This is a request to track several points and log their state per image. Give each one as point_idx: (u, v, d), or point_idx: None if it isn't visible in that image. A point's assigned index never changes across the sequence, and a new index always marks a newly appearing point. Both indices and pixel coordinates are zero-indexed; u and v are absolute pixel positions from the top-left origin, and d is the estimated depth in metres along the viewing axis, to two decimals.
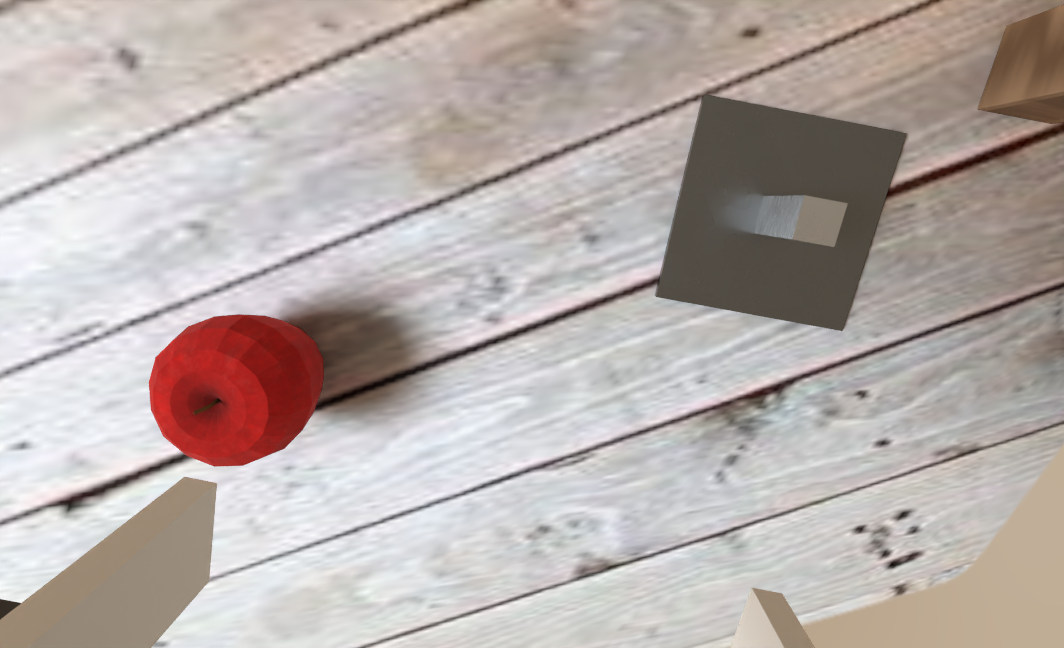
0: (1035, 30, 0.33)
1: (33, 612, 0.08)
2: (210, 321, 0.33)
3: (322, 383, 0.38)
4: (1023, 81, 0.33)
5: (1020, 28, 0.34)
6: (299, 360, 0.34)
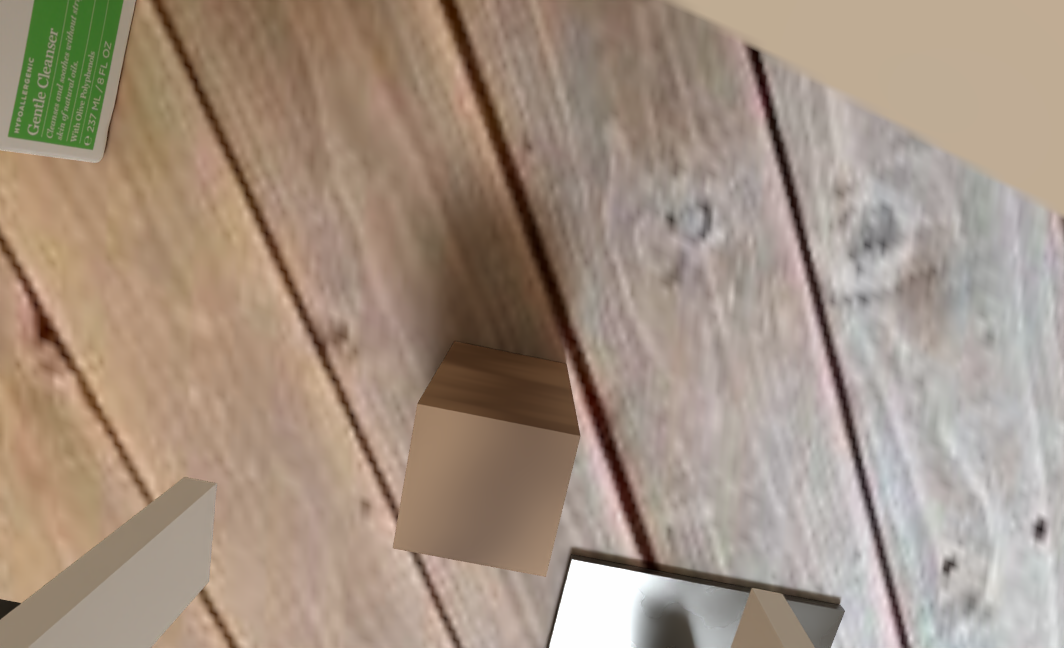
0: None
1: (33, 612, 0.08)
2: None
3: None
4: None
5: None
6: None
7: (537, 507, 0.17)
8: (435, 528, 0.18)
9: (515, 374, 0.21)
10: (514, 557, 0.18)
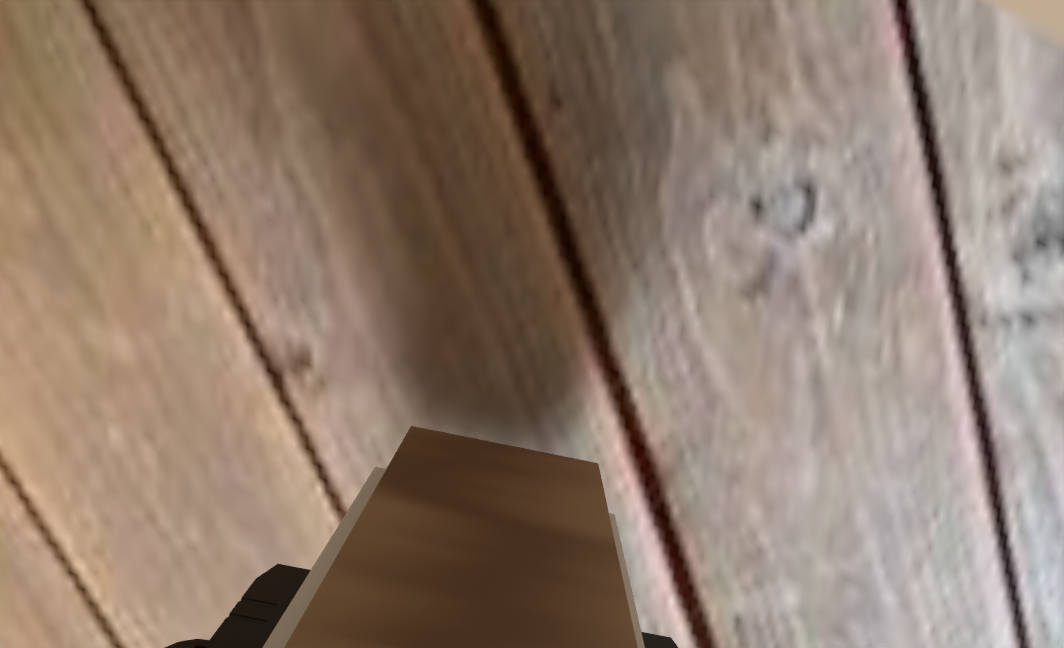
0: None
1: (326, 571, 0.10)
2: None
3: None
4: None
5: None
6: None
7: None
8: None
9: (511, 509, 0.12)
10: None
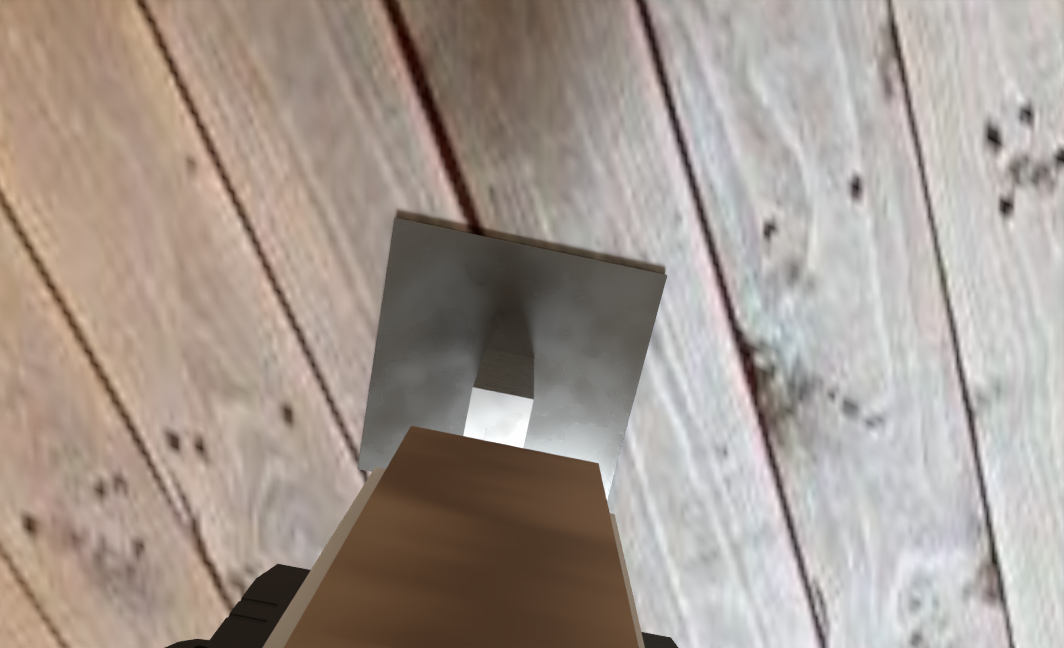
0: None
1: (326, 571, 0.10)
2: None
3: None
4: None
5: None
6: None
7: None
8: None
9: (511, 509, 0.12)
10: None
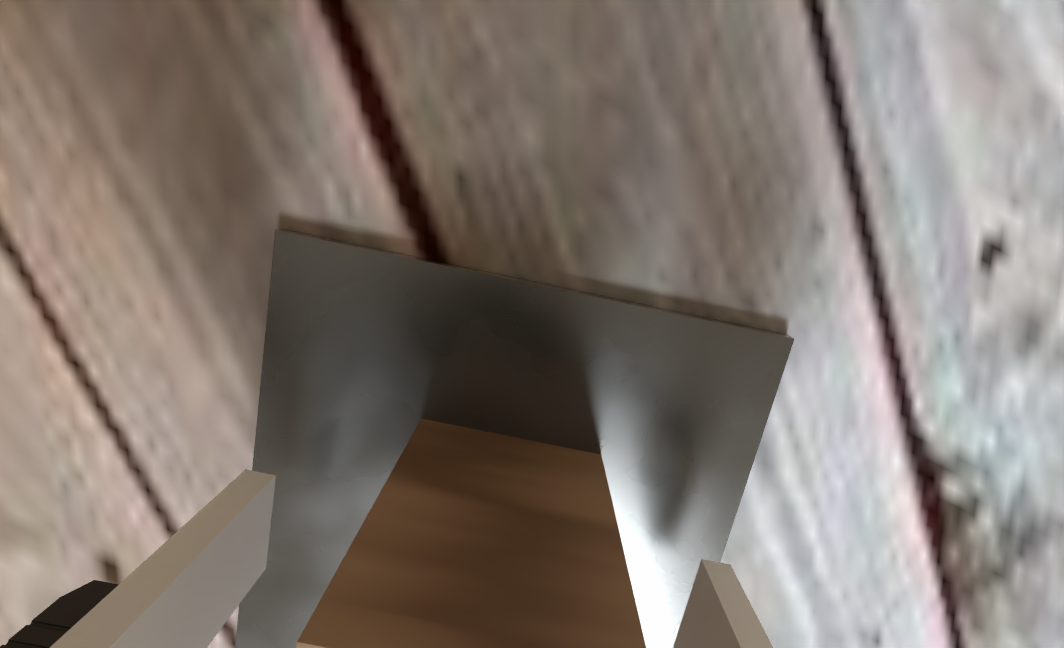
0: None
1: (133, 590, 0.09)
2: None
3: None
4: None
5: None
6: None
7: None
8: None
9: (518, 496, 0.12)
10: None
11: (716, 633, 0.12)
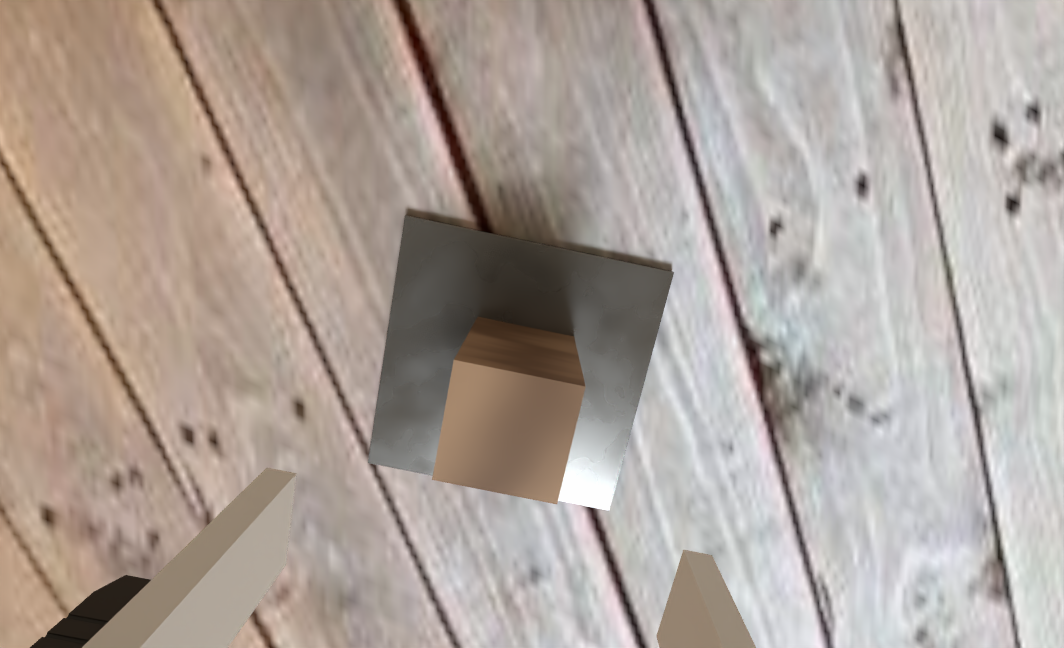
0: None
1: (167, 584, 0.09)
2: None
3: None
4: None
5: None
6: None
7: (550, 445, 0.21)
8: (467, 463, 0.22)
9: (531, 342, 0.25)
10: (531, 488, 0.22)
11: (696, 621, 0.12)
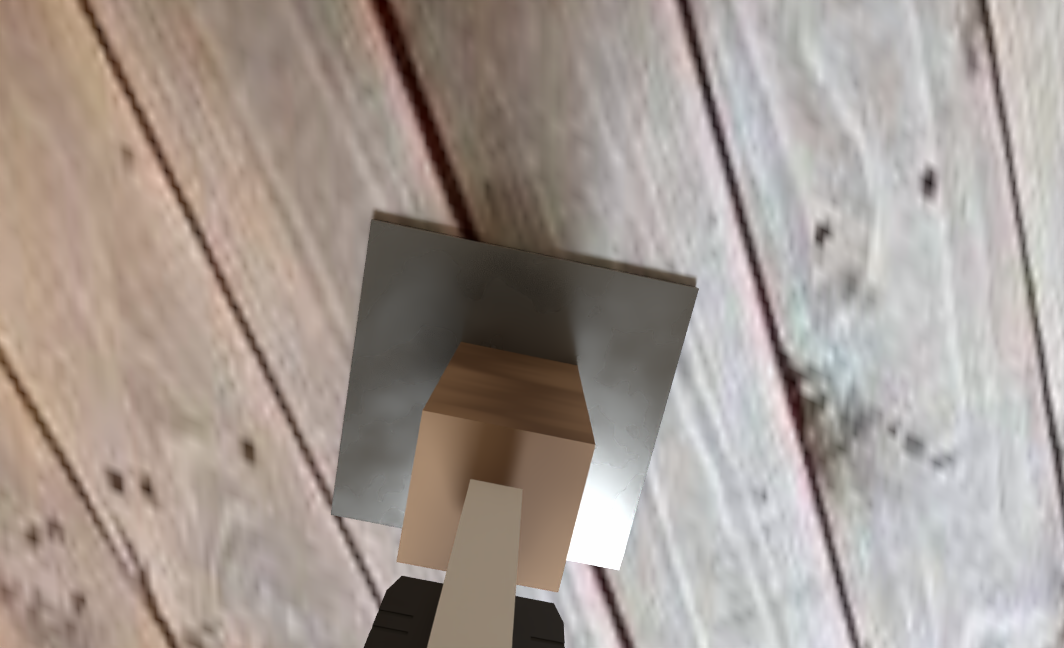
0: None
1: (458, 584, 0.11)
2: None
3: None
4: None
5: None
6: None
7: (549, 519, 0.16)
8: (441, 541, 0.17)
9: (525, 377, 0.20)
10: (525, 572, 0.17)
11: None
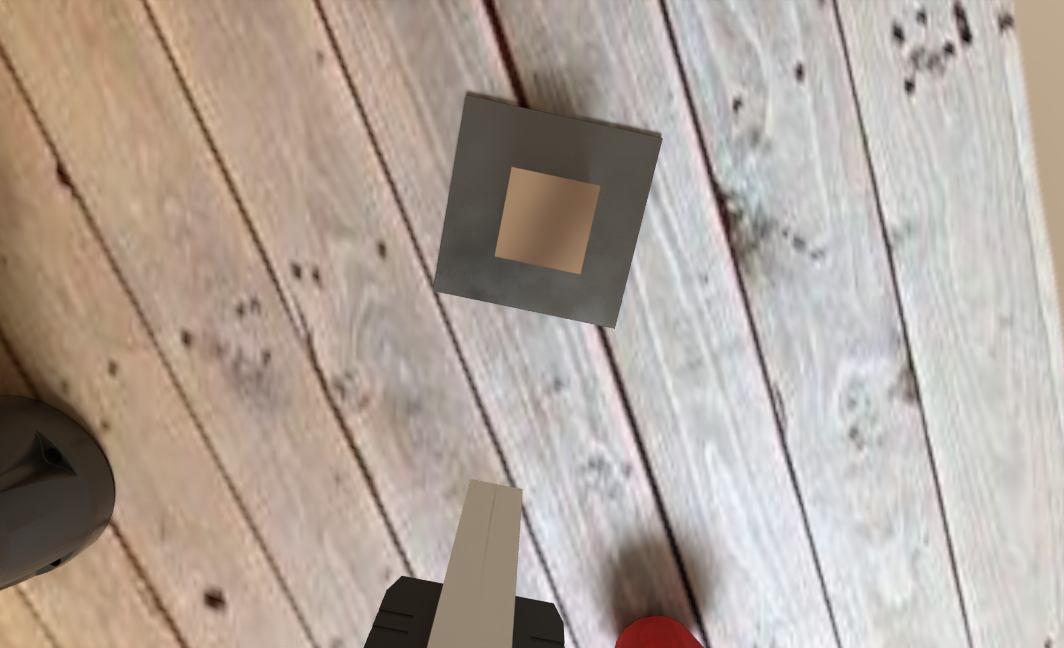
0: None
1: (458, 584, 0.11)
2: None
3: (673, 626, 0.43)
4: None
5: None
6: None
7: (576, 230, 0.31)
8: (519, 243, 0.31)
9: None
10: (563, 262, 0.32)
11: None
